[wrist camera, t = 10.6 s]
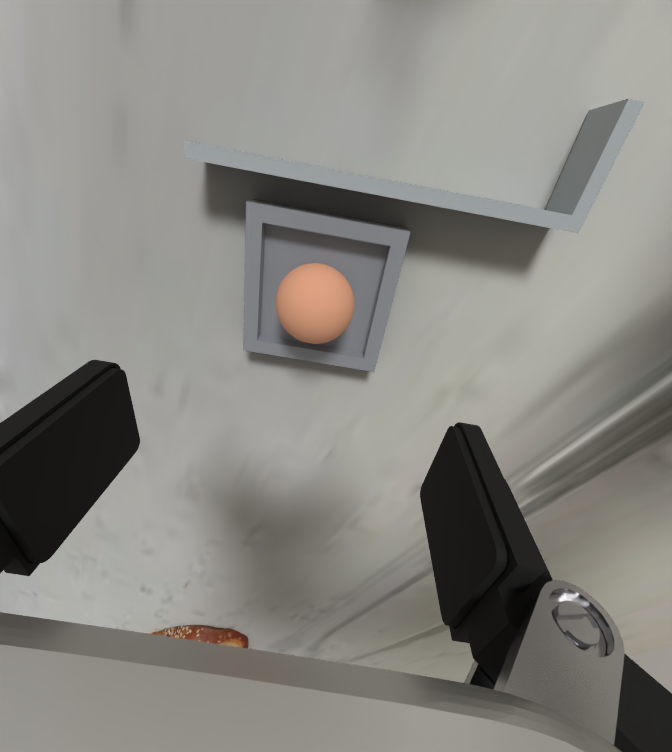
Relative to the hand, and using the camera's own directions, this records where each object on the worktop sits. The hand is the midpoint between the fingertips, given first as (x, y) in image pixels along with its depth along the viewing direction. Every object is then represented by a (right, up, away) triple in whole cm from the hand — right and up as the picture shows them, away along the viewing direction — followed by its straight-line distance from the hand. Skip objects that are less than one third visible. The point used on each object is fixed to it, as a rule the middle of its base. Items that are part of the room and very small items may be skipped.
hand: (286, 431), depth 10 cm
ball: (0, +8, +13) cm, 15 cm away
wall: (+5, +15, +9) cm, 19 cm away
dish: (0, +8, +14) cm, 16 cm away
